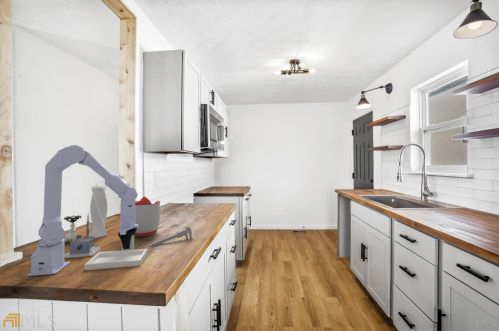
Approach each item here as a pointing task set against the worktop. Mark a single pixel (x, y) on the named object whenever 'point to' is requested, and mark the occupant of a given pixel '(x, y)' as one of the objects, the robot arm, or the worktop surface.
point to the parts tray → (116, 259)
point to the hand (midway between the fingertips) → (127, 246)
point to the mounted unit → (82, 248)
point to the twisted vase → (97, 212)
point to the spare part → (130, 244)
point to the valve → (72, 229)
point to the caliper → (174, 236)
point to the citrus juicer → (146, 217)
